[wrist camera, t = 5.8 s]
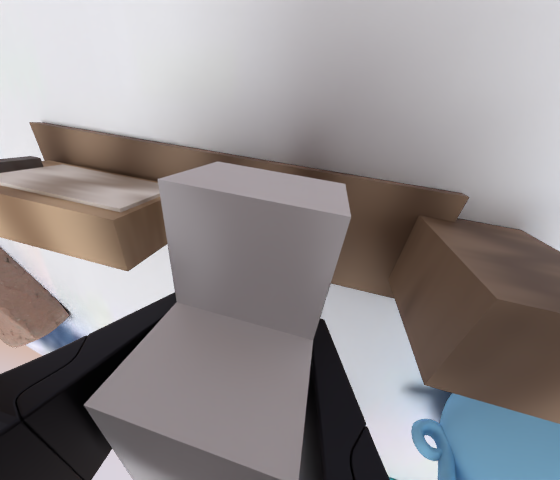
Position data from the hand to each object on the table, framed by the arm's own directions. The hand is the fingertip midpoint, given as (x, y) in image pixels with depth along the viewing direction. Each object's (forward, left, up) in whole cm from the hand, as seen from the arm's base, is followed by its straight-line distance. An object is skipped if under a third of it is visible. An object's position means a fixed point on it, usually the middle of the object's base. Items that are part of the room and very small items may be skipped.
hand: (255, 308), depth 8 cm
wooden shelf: (+3, +2, -8) cm, 9 cm away
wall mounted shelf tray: (+10, +9, -7) cm, 15 cm away
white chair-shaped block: (0, 0, -2) cm, 2 cm away
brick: (+14, +37, -9) cm, 40 cm away
